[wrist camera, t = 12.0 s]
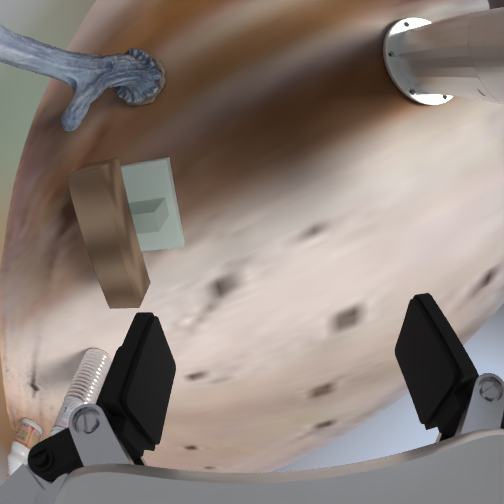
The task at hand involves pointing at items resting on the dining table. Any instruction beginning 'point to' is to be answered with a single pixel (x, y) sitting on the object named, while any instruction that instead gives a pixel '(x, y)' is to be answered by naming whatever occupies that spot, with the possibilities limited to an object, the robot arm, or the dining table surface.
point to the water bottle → (84, 385)
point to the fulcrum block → (153, 204)
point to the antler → (86, 73)
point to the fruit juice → (23, 444)
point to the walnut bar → (109, 232)
